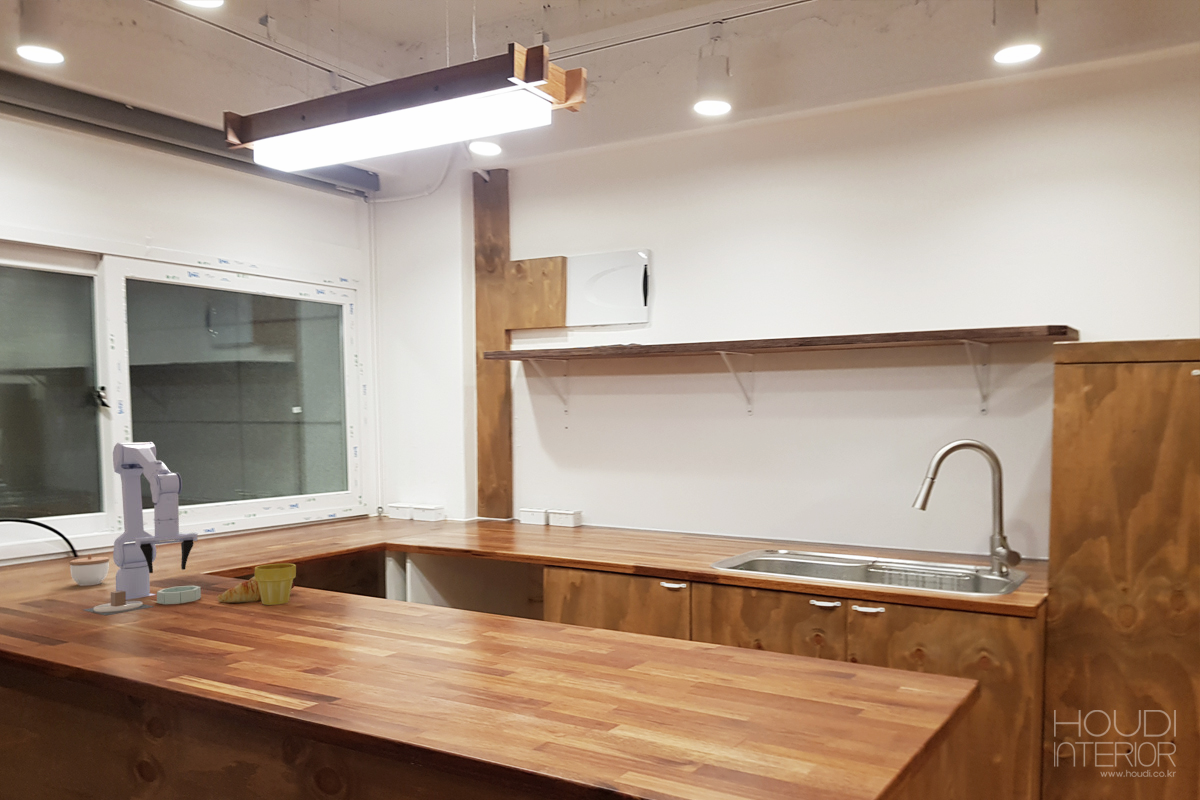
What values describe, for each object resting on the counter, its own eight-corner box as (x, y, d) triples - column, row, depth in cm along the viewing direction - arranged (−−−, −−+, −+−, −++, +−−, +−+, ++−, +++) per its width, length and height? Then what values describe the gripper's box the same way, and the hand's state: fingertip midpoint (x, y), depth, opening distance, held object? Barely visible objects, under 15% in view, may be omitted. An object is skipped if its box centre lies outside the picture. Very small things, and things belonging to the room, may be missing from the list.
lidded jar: (117, 580, 273) (116, 551, 274) (94, 586, 263) (93, 556, 263) (86, 581, 274) (85, 552, 275) (61, 587, 264) (61, 557, 264)
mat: (82, 612, 223) (82, 609, 223) (130, 603, 232) (129, 601, 232) (105, 617, 214) (105, 615, 214) (154, 608, 224) (154, 606, 224)
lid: (86, 610, 222) (85, 593, 222) (130, 602, 231) (130, 586, 231) (104, 614, 215) (104, 597, 216) (150, 606, 224) (150, 589, 224)
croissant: (222, 619, 224) (227, 594, 222) (208, 598, 231) (213, 573, 228) (299, 604, 240) (304, 580, 237) (283, 584, 246) (288, 560, 243)
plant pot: (301, 598, 232) (301, 562, 232) (289, 605, 222) (288, 568, 222) (263, 599, 232) (262, 563, 232) (249, 607, 221) (248, 569, 222)
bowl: (151, 603, 231) (151, 590, 231) (188, 597, 239) (187, 584, 239) (169, 607, 225) (169, 594, 225) (206, 600, 233) (206, 587, 233)
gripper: (136, 522, 218) (137, 576, 217) (198, 518, 225) (199, 569, 225) (134, 520, 223) (135, 572, 223) (195, 516, 231) (195, 566, 231)
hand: (167, 570), depth 224 cm, fingers open, 7 cm apart
